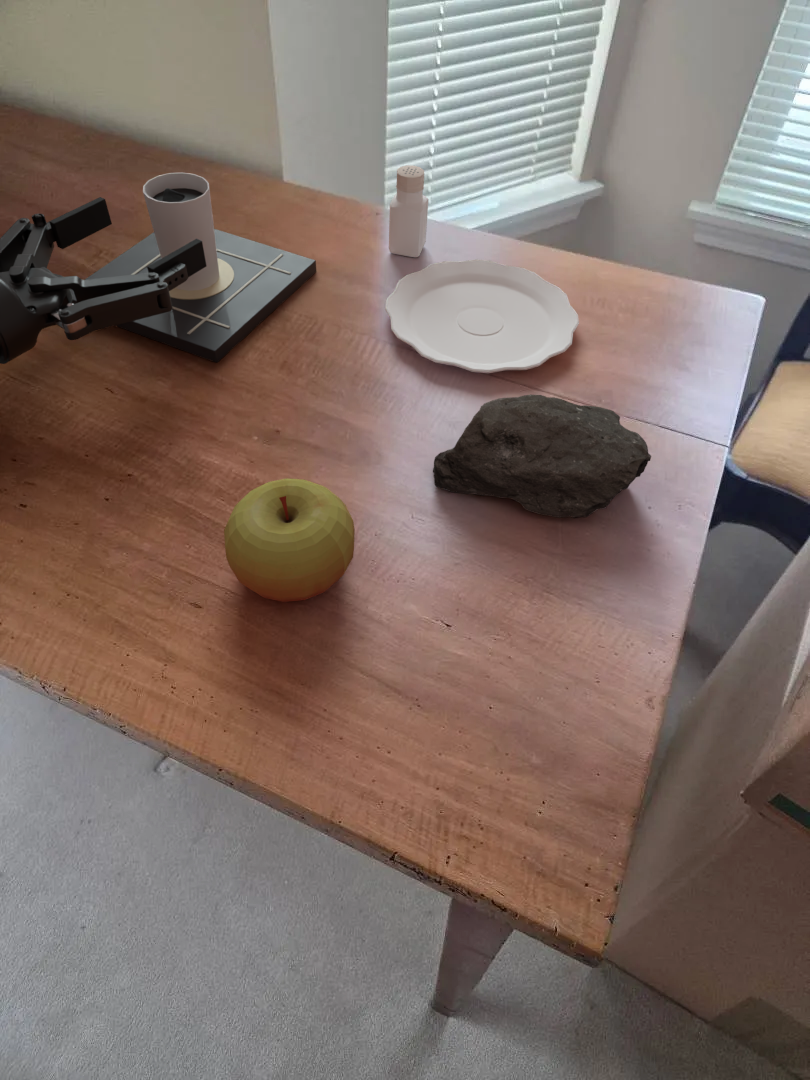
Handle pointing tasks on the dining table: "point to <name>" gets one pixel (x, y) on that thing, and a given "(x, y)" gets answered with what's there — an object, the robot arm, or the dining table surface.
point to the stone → (544, 455)
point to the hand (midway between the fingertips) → (152, 230)
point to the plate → (481, 316)
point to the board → (216, 294)
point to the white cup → (183, 220)
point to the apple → (289, 539)
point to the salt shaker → (408, 213)
